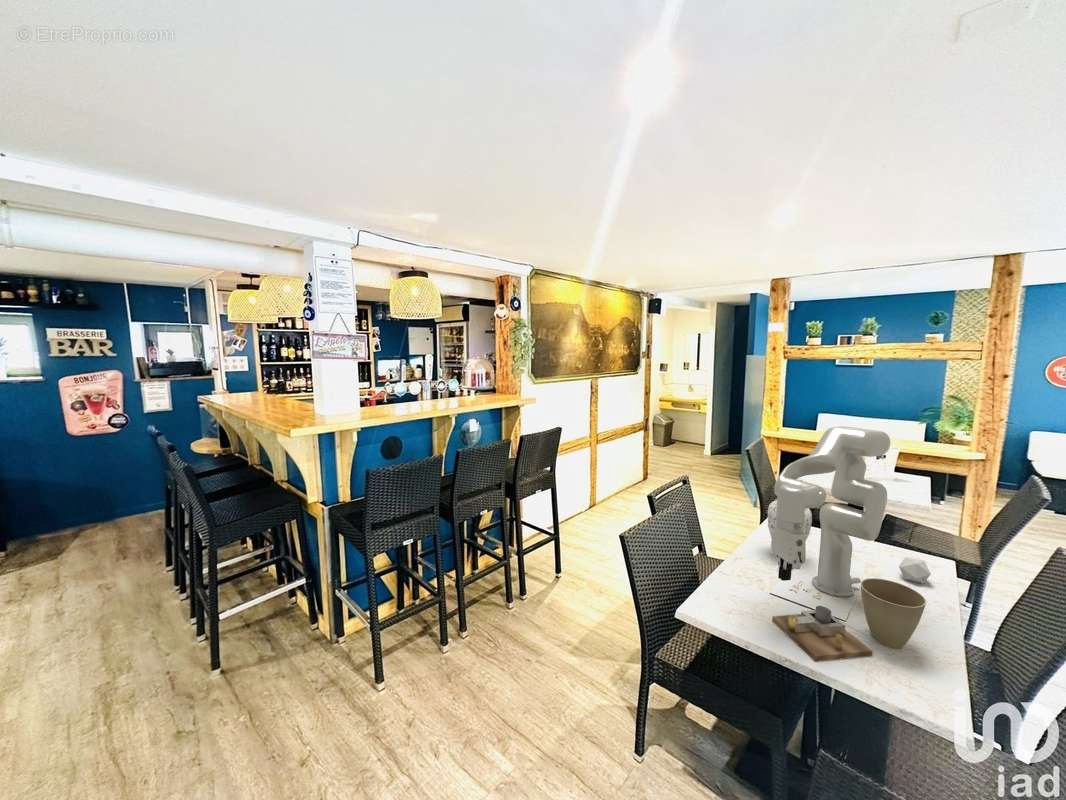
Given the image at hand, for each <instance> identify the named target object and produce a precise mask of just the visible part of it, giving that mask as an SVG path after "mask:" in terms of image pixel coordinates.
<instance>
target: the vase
mask: <svg viewBox="0 0 1066 800" xmlns="http://www.w3.org/2000/svg"><path fill="white" fill-rule="evenodd" d="M805 479H806V478H805V476H803V477H800V478H798V479H796V480H800V481H804V480H805ZM810 509H811V508H805V512H804V523H803V533H804V535H805V543H806V541H807V539H808V538H809V535H811V534H810V532H811V530H812V529H811V528H812V523H813V517H812V516H813V515H812V511H811V510H810ZM776 511H777V499H776V500H774V501H773V500H772V502H770V504H769V505H768V509H767V527H768V531H769V534H770V538H771V540H772V534H773V529H774V526H775V522H776Z"/></svg>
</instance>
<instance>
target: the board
mask: <svg viewBox="0 0 1066 800" xmlns="http://www.w3.org/2000/svg"><path fill="white" fill-rule="evenodd" d="M814 610H815V619H816V620H817V621H818V622H820V623H821V624H829V623H830V621H831V615H832V610H831V609H830V608H829V607H826V606H824V605H816V606H815V609H814ZM790 616H792V617H801V613H798V614H787V615H786V614H785V615H772V617H771V618H772V620H771V622H773V623H774V624H775V625H776V626H777V627H778V628H780V629H781V631H783V632H784V633H785V634H786V635H787V636H788V637H789V638H790V639H791V640H792V641H793V642H794V643H795V644H796V643H797V644H796V645H797V646H798V647H800V648H801V650H803V651H804V652H805V653H806V654H807V655H808V656H809V657H810V658H811V657H812V658H813V659H814V660H813V659H812V658H811V659H812V660H813V661H814V662H819V660H822V661H831V660H830V659H832V660H840V658H842V659H851V658H862V657H871V656H873V652H874V651H873V649H872V648H870V647H869V646H867V645H866V644H864V643H863V642H862V641H860V640H859V639H858V638H856V636H854V635H853V634H852V633H850V632H849V631H848V630H847V629H845V633H844V635H840V634H836V635H834V636H823V637H820V636H819V635H818V634H817V633H815V632H814V631H811V632H800V633H795V632H791V631H790V630H788V620H789V617H790Z"/></svg>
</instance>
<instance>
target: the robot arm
mask: <svg viewBox="0 0 1066 800" xmlns="http://www.w3.org/2000/svg"><path fill="white" fill-rule="evenodd" d="M890 447H891V439H890V436H889V434H888V433H887V432H885V431H882V430H874V429H865V428H859V427H854V426H853V427H852V426H842V425H841V426H835V427H834V426H833V427H830V428H828V429H826V430H825V431H824V433H823V435H822V436H821V438H820V439H819V441H818V443H817V444H816V445H815V447H814V448H813V449H812V452H811V453H810V454H809V455H808V456H804V457H801V458H799V459H797V460H795V461H793V462H791V463H789V464H788V465H786V466H785V467H784V469H783V470H782V471H781V472H780V474H779V475H778V477H777V479H776V481H775V483H774V486H773V487H774V494H775V495H776V496H777V499H776V500H777V511H776V522H775V526H774V529H773V534H772V539H771V541H770V542H771V543H770V549H771V551H772V554H773V555H774V556H775V557H776V559H777V565H778V575H777V577H778V579H780V581H791V580H792V570H800V569H801V565H803V564H805V563H806V549H807V547H806V545H807V544H806V542H805V535H804V533H803V523H804V512H805V508H809V509H817V508H819V507H820V510H819V522H820V542H819V544H820V545H819V554H818V555H819V556H818V563H817V564H818V567H817V568H818V569H817V575H816V576H814V577H812V580H811V583H812V585H813V587H815V588H816V589H817V590H819V591H821V592H824V593H826V594H828V595H832V596H836V597H840V598H849V597H852V596H853V595H854V592H855V591H854V588H853V586H852V585H854V584H861V581H862V580H861V579H860V578H859V577H852V576H851V564H852V555H853V543H852V540H851V538H850V536H851V537H854V538H857V539H860V540H864V541H867V542H868V541H869V542H870V541H871V542H872V541H875V540H876V539H877V538H878V536H879V534H880V531H881V528H882V524H883V519H884V515H885V511H886V506H887V502H888V491H887V488H886V487H885V486H884V485H883V484H882V483H879V482H877V481H873V480H868V479H865V474H866V470H867V464H866V461H865V460H864V458H863V457H869V458H870V457H871V458H873V457H881V456H884V455H885V454H886V453H887V452H888V451H889V449H890ZM829 473H834V475H833V479H832V483H831V488H830V489H831V490H830V494H831V496H832V497H833V498H834V499H836V500H837V501H840V502H844V503H848V504H851V505H855V506H859V507H862V508H864V510H861V509H858V508H857V509H856V508H854V507H851V506H846V505H842V504H840V503H839V504H838V503H835V502H832V503H825V502H826V499H827V493H826V490H825V489H824V488H823V487H822V486H820V485H818V484H815V483H812V482H811V483H810V482H807V481H804V480H802V481H800V480H796V479H798V478H800V477H807V476H811V475H812V476H813V475H822V474H829Z"/></svg>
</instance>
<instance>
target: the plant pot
mask: <svg viewBox="0 0 1066 800" xmlns="http://www.w3.org/2000/svg"><path fill="white" fill-rule="evenodd" d="M860 591H861V592H860V593H861V602H862V608H863V611H864V615H865V619H866V623H867V626H868V629H869V632H870V635H871V637H872V639H873V640H874V641H875V642H876V643H878V644H880V645H882V646H883V647H887V648H888V649H889V648H890V649H893V650H901V649H903V648H904V647H905V646H906V644H907V643H908V642H909V640H910V639H911V637H912V636H913V634H914V633H915V630H916V629H917V628H918V626H919V623H920V621H921V619H922V616H923V614H924V610H925V607H926V604H927V600H926V598H925V597H924V595H922V594H921V593H919V591H916V589H913V588H912V587H909V586H907V585H904V584H902V583H899V582H897V581H893V580H889V579H885V578H884V579H883V578H873V577H872V578H865V579H862V580H861V582H860Z"/></svg>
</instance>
